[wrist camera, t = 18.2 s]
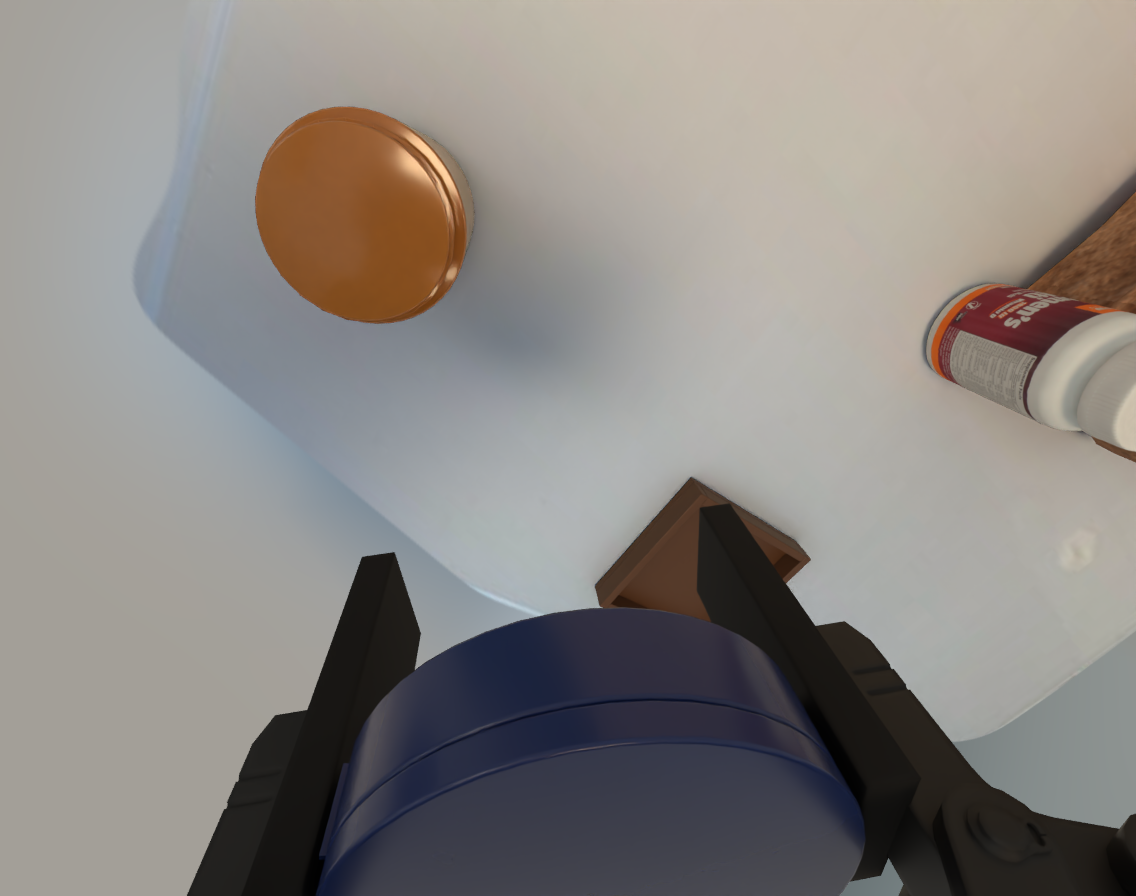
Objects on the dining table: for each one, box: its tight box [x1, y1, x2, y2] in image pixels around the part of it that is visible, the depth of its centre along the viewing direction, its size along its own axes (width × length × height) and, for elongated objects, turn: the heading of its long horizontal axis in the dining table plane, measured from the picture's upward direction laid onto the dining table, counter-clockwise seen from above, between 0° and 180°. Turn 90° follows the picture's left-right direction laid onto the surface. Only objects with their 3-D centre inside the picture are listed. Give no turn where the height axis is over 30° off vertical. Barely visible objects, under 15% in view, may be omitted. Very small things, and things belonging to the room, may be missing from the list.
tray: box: [595, 478, 811, 622], centre depth 38 cm, size 11×11×2 cm
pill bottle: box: [926, 283, 1136, 452], centre depth 28 cm, size 6×6×11 cm
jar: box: [255, 107, 475, 324], centre depth 21 cm, size 7×7×10 cm
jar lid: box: [316, 607, 866, 896], centre depth 8 cm, size 8×7×2 cm
